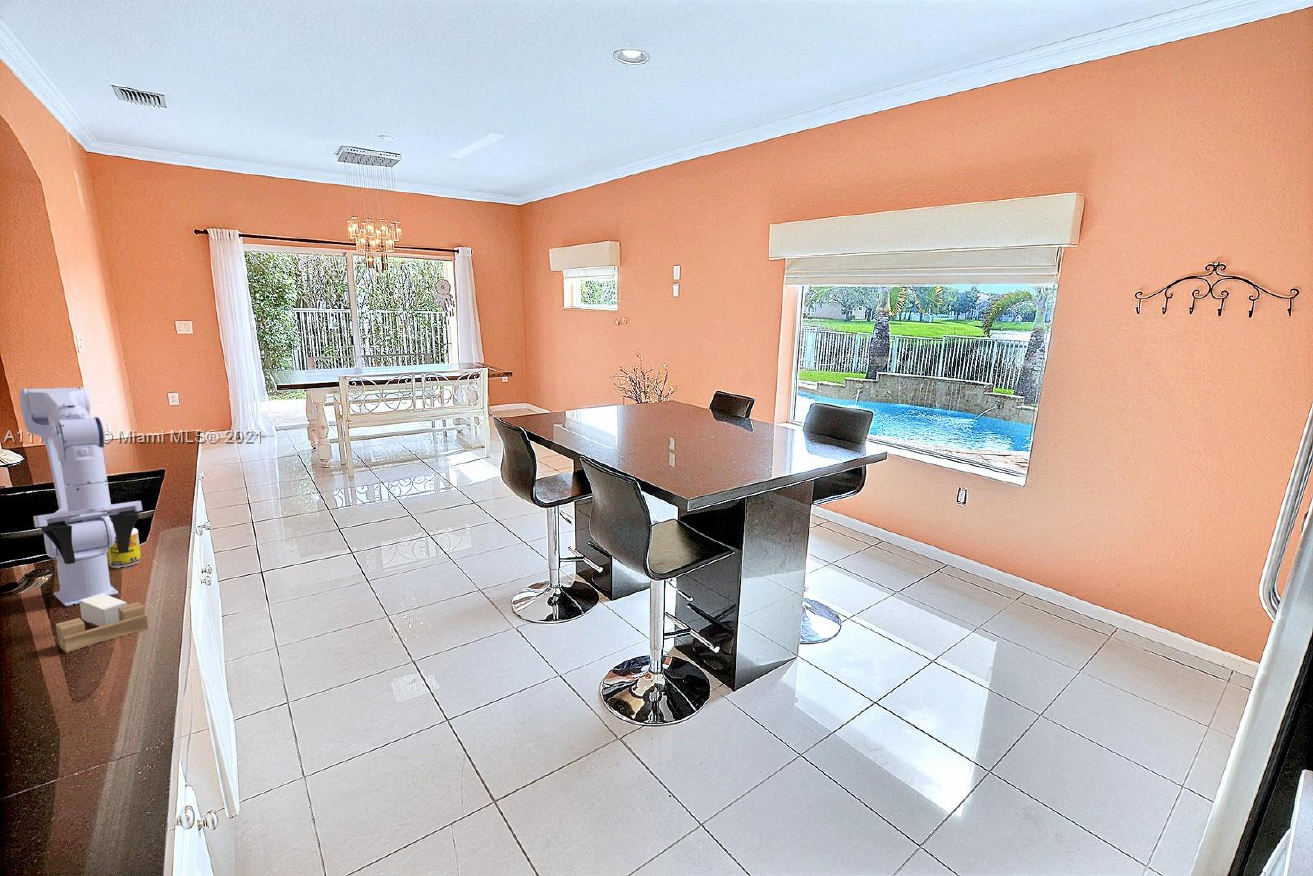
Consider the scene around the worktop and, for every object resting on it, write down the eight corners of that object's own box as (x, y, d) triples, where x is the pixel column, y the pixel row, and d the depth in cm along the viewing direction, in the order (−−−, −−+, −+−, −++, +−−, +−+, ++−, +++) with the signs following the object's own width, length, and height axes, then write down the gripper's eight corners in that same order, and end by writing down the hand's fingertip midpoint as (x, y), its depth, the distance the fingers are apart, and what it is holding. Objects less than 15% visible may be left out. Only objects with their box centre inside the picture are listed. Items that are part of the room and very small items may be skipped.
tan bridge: (58, 645, 103) (55, 624, 103) (140, 621, 113) (138, 602, 112) (65, 653, 101) (62, 631, 101) (148, 628, 110) (146, 608, 110)
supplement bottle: (107, 570, 135) (102, 527, 134) (112, 562, 140) (107, 521, 138) (139, 566, 138) (134, 524, 137) (143, 558, 143) (138, 517, 141)
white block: (81, 620, 113) (79, 600, 112) (104, 612, 116) (102, 593, 115) (106, 630, 109) (103, 609, 109) (129, 622, 112) (127, 602, 112)
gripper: (41, 489, 100) (53, 569, 101) (145, 477, 113) (156, 547, 114) (24, 491, 103) (36, 568, 104) (127, 479, 116) (137, 547, 117)
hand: (97, 557), depth 109 cm, fingers open, 7 cm apart
